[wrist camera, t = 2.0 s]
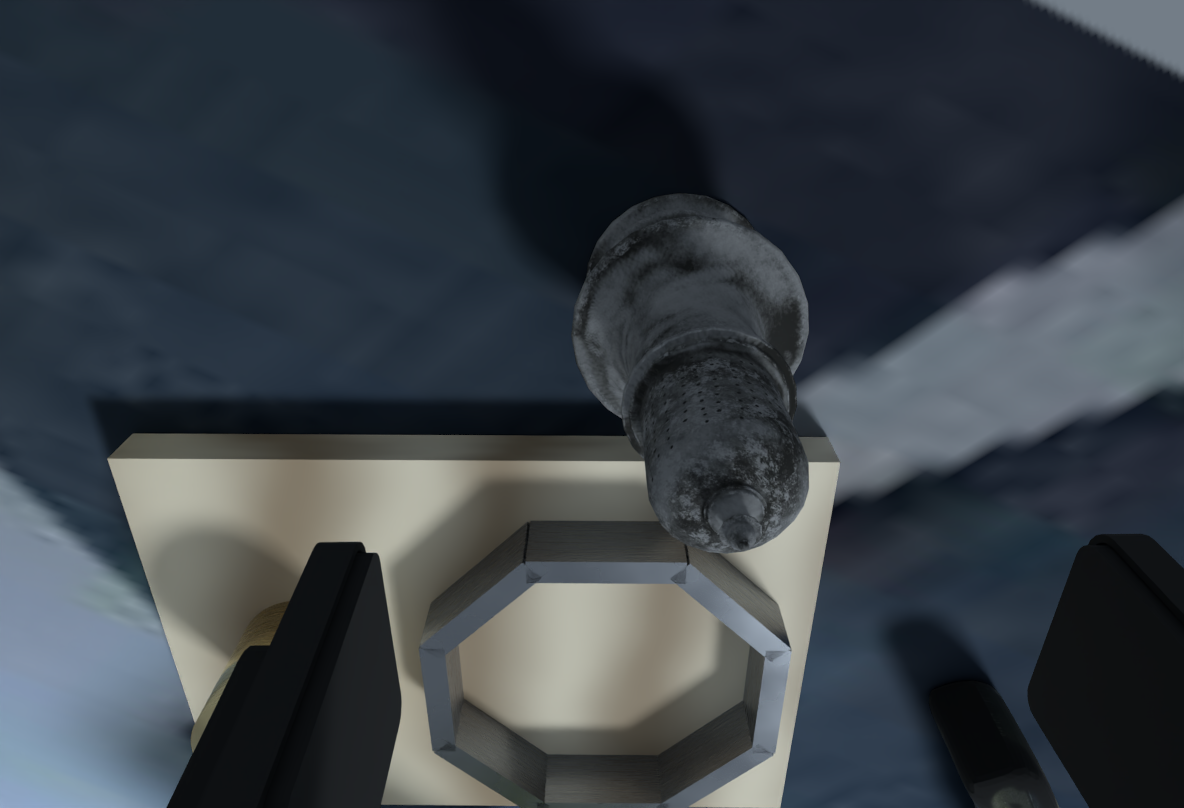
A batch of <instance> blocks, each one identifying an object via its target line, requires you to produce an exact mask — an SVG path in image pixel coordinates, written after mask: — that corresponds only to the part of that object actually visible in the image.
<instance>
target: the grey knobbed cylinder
mask: <svg viewBox="0 0 1184 808" xmlns="http://www.w3.org/2000/svg"><path fill="white" fill-rule="evenodd" d="M808 333H809V325H808V302H807V299H806V296H805V293H804V290H803V287H802V284H801V281H800V278H799V275H798V274H797V272H796V271H795V270H794V268H793V267H792V265H791V264H790V263H789V261H788V260H787V258H786V257H785V255H784V254H783V253H782V251H781V250H780V249H779V248H777V247H776V246H775V245H774V244H772V243H771V242H770V241H768V240H767V239H766V238H765V237H763V236H762V235H761V234H759V233H758V232H757V231H755V230H754V228H753V227H752V226H751V224H750V223H749V221H748V220H747V219H746V218H744V217H743V216H742V215H740V214H739V213H738V212H737V211H735V210H734V209H733V208H732V207H730V206H729V205H727V204H725V203H722V202H720V201H717V200H715V199H712V198H710V197H707V196H703V195H695V194H686V193H676V194H669V195H663V196H656V197H653V198H651V199H648V200H646V201H644V202H641V203H639V204H637V205H634V206H632V207H631V208H629V209H628V210H627V211H626V212H624V213H623V214H622V215H620V216H619V217H618V218H617V219H615V220H614V221H613V222H612V223H611V224H610V225H609V227H608V228H607V229H606V230H605V232H604V233H603V234H602V236H601V237H600V238H599V240H598V241H597V243H596V245H595V248H594V250H593V253H592V255H591V258H590V260H589V263H588V268H587V277H586V279H585V282H584V284H583V287H582V289H581V291H580V294H579V296H578V299H577V301H576V304H575V308H574V317H573V326H572V341H573V347H574V353H575V359H576V364H577V366H578V368H579V370H580V372H581V374H582V376H583V378H584V380H585V382H586V384H587V386H588V388H589V389H590V390H591V392H592V393H593V394H594V395H595V396H596V397H597V398H598V399H599V401H600V402H601V403H602V404H603V405H604V406H605V407H606V408H607V409H608V410H609V411H611V412H613V413H614V414H616V415H617V416H619V417H620V418H622V420H623V427H624V431H625V433H626V435H627V437H628V439H629V441H630V443H631V445H632V447H633V448H634V449H635V450H636V451H637V452H638V454H639V455H640V456H641V457H642V458H643V459H644V461H645V471H646V482H647V490H648V498H649V502H650V504H651V506H652V508H653V510H654V512H655V514H656V516H657V518H658V520H659V522H660V524H661V525H662V526H663V527H664V528H665V529H666V530H667V531H668V532H669V534H670V535H671V536H673V537H674V538H676V539H677V540H679V541H681V542H682V543H684V544H686V545H688V546H691V547H694V548H697V549H700V550H704V551H707V552H714V553H726V554H728V553H736V552H744V551H747V550H750V549H753V548H756V547H759V546H762V545H764V544H765V543H767V542H769V541H770V540H772V539H774V538H776V537H777V536H778V535H779V534H781V533H782V532H783V531H784V530H785V529H786V528H787V527H788V526H789V525H790V524H791V523H792V522H793V521H794V520H795V519H796V517H797V516H798V514H799V513H800V511H801V509H802V508H803V506H804V504H805V501H806V497H807V494H808V491H809V462H808V459H807V457H806V454H805V451H804V448H803V446H802V443H801V441H800V439H799V436H798V434H797V432H796V429H795V427H794V425H793V423H792V421H793V418H794V414H795V410H796V407H797V397H796V384H795V381H794V378H793V374H794V373H795V371H796V369H797V367H798V365H799V364H800V362H801V360H802V356H803V352H804V349H805V345H806V341H807V337H808Z"/></svg>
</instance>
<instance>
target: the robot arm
mask: <svg viewBox="0 0 1184 808" xmlns="http://www.w3.org/2000/svg"><path fill="white" fill-rule="evenodd" d="M1028 703H1029V706H1030V710H1031V712H1032V714H1033V716H1034V718H1035V719H1036V721H1037V723H1038V724H1039V726H1040V728H1041V729H1042V731H1043V733H1044V734H1045V736H1046V737H1047V739H1048V741H1049V742H1050V744H1051V746H1052V747H1053V749H1054V751H1055V752H1056V754H1057V755H1058V757H1059V759H1060V760H1061V762H1062V764H1063V765H1064V767H1065V768H1066V770H1067V772H1068V773H1069V775H1070V777H1071V778H1072V780H1073V782H1074V783H1075V785H1076V786H1077V788H1078V790H1079V791H1080V793H1081V795H1082V796H1083V798H1084V799H1085V801H1086V803H1087V804H1088V806H1089V808H1184V569H1183V568H1182V567H1181V566H1180V565H1179V564H1178V563H1177V562H1176V561H1175V560H1174V559H1173V558H1172V557H1171V556H1170V555H1169V554H1168V553H1167V552H1166V551H1165V550H1164V549H1163V548H1162V547H1161V546H1160V545H1159V544H1158V543H1157V542H1156V541H1155V540H1153V539H1152V538H1151V537H1149V536H1147V535H1144V534H1101V535H1096V536H1095V537H1094V538H1092V539H1091V540H1090V542H1089V544H1088V545H1087V546H1083V547H1082V548H1080V549H1079V551H1078V553H1077V555H1076V557H1075V560H1074V563H1073V566H1072V568H1071V571H1070V574H1069V576H1068V579H1067V582H1066V585H1065V587H1064V590H1063V593H1062V596H1061V598H1060V601H1059V604H1058V607H1057V609H1056V612H1055V615H1054V617H1053V620H1052V623H1051V626H1050V628H1049V631H1048V634H1047V637H1046V639H1045V642H1044V645H1043V647H1042V650H1041V653H1040V656H1039V658H1038V661H1037V664H1036V667H1035V669H1034V672H1033V675H1032V678H1031V680H1030V683H1029V686H1028ZM401 707H402V699H401V690H400V684H399V677H398V671H397V665H396V658H395V652H394V645H393V639H392V633H391V626H390V620H389V613H388V607H387V601H386V594H385V588H384V582H383V575H382V569H381V562H380V558H379V555H378V553H366V550H365V547H364V545H363V543H362V542H319V543H317V544H316V545H315V547H314V548H313V550H312V552H311V555H310V557H309V559H308V561H307V564H306V566H305V568H304V570H303V573H302V575H301V577H300V579H299V581H298V584H297V586H296V588H295V590H294V593H293V595H292V597H291V599H290V601H289V604H288V606H287V608H286V610H285V613H284V615H283V617H282V619H281V621H280V624H279V626H278V628H277V630H276V633H275V635H274V637H273V639H272V641H271V644H270V645H254V646H249V647H248V648H247V649H246V650H244V652H243V653H242V655H241V657H240V658H239V660H238V662H237V664H236V666H235V668H234V670H233V672H232V674H231V676H230V678H229V680H228V682H227V684H226V686H225V688H224V690H223V692H222V694H221V697H220V699H219V701H218V703H217V705H216V707H215V709H214V711H213V713H212V715H211V717H210V719H209V721H208V723H207V725H206V727H205V729H204V732H203V734H202V736H201V738H200V740H199V742H198V744H197V746H196V748H195V750H194V752H193V754H192V756H191V758H190V760H189V762H188V764H187V767H186V769H185V771H184V773H183V775H182V777H181V779H180V781H179V783H178V785H177V787H176V789H175V791H174V793H173V795H172V797H171V799H170V802H169V804H168V806H167V808H380V807H381V803H382V798H383V794H384V790H385V785H386V781H387V777H388V772H389V768H390V764H391V759H392V755H393V751H394V746H395V742H396V738H397V733H398V729H399V725H400V719H401Z"/></svg>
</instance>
